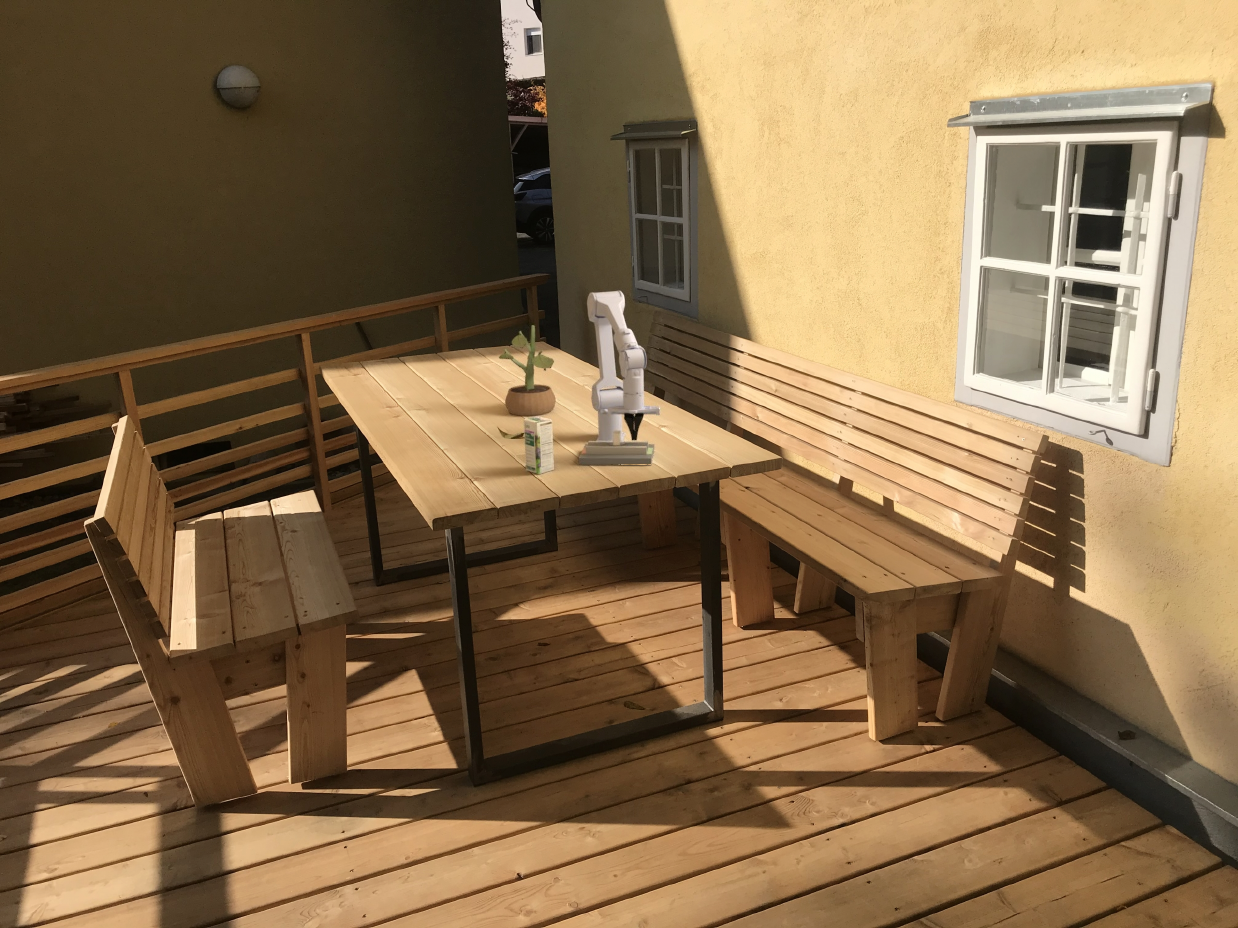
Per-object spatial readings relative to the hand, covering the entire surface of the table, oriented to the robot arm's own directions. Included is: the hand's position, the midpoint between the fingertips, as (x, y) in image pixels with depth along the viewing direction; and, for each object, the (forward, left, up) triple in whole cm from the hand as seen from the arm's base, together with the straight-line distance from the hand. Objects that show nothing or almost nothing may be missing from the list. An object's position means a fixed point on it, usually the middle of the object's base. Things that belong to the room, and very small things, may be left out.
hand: (634, 439), depth 276 cm
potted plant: (-51, -39, -6) cm, 64 cm away
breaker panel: (0, -5, -5) cm, 7 cm away
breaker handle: (0, -5, -3) cm, 6 cm away
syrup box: (+12, -25, -6) cm, 28 cm away
